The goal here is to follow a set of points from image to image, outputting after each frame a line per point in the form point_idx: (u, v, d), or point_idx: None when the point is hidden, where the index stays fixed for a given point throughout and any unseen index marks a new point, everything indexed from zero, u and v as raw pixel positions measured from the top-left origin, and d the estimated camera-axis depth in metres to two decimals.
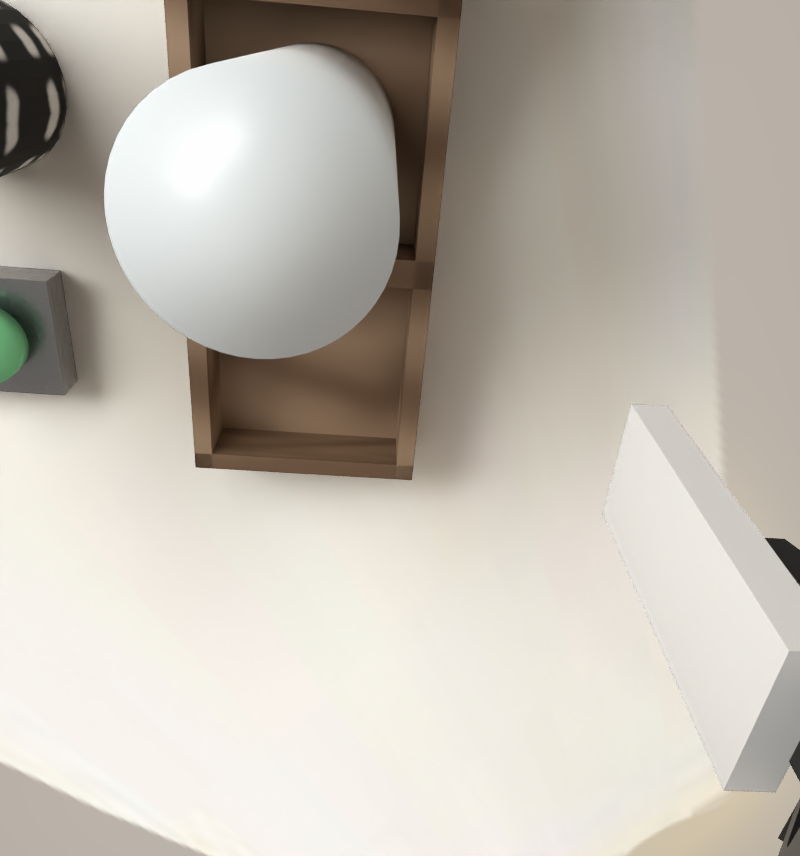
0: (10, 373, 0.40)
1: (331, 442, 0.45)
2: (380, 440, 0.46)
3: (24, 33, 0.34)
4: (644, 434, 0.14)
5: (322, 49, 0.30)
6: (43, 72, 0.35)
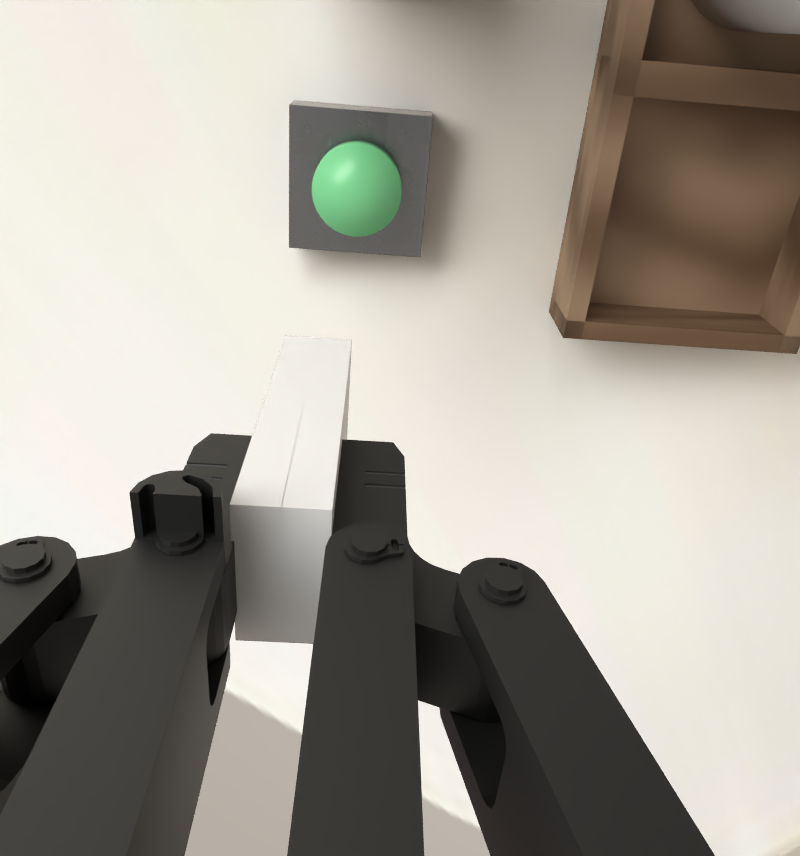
0: (385, 223, 0.36)
1: (696, 315, 0.41)
2: (745, 316, 0.42)
3: None
4: None
5: None
6: None
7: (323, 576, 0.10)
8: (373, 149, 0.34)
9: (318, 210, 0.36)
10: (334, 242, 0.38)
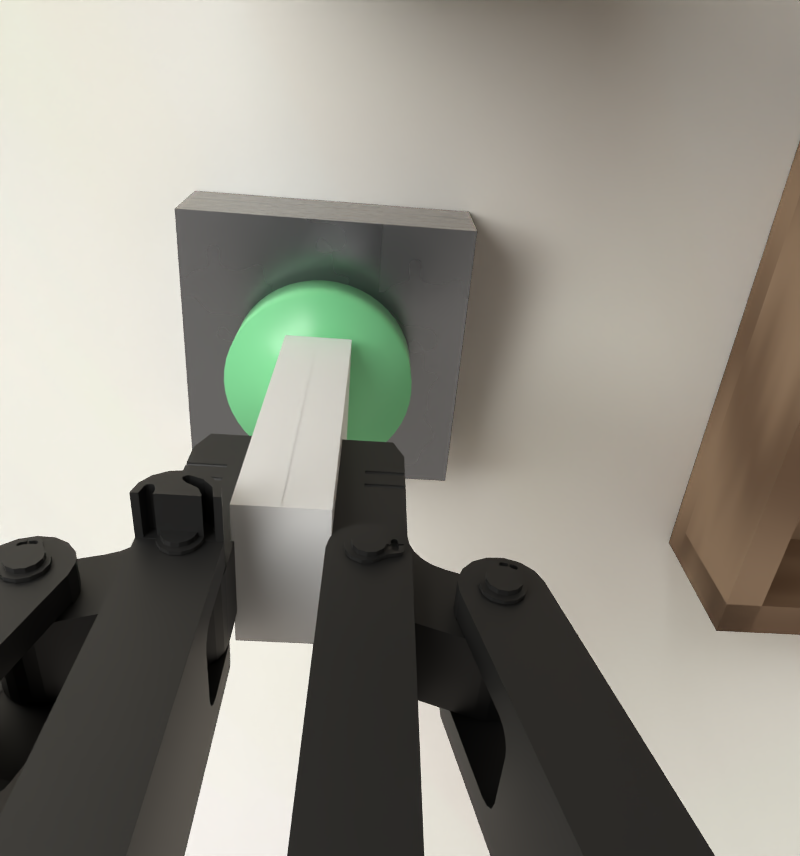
0: (377, 441, 0.18)
1: None
2: None
3: None
4: None
5: None
6: None
7: (323, 576, 0.10)
8: (352, 308, 0.16)
9: (240, 420, 0.17)
10: None
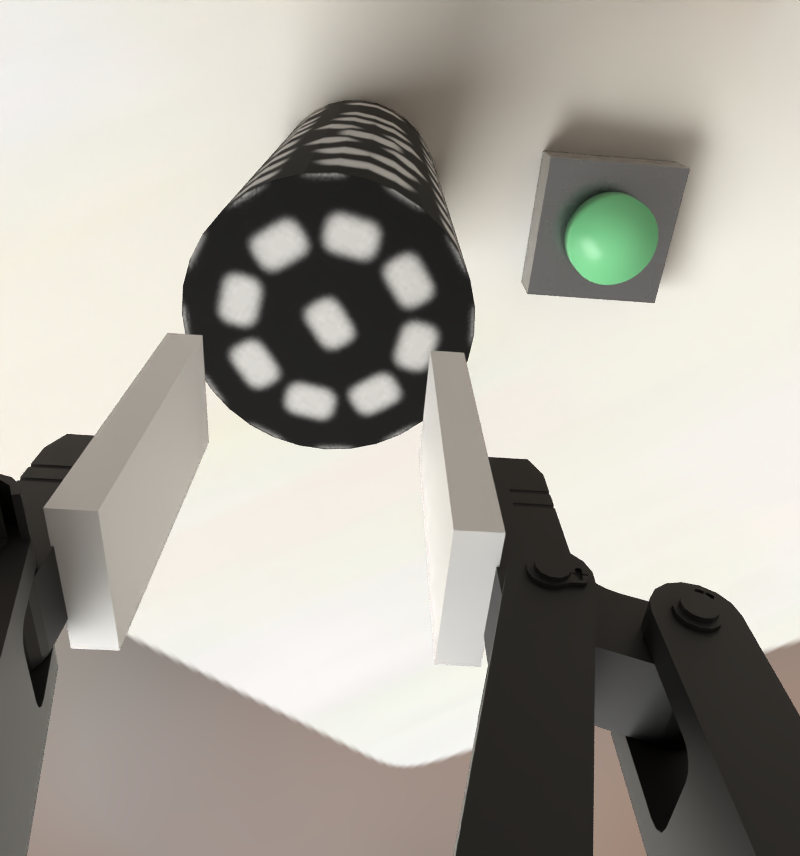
0: (648, 213, 0.35)
1: None
2: None
3: (305, 119, 0.35)
4: (431, 375, 0.15)
5: None
6: (338, 105, 0.34)
7: (504, 593, 0.09)
8: (577, 224, 0.36)
9: (625, 279, 0.37)
10: (657, 259, 0.38)
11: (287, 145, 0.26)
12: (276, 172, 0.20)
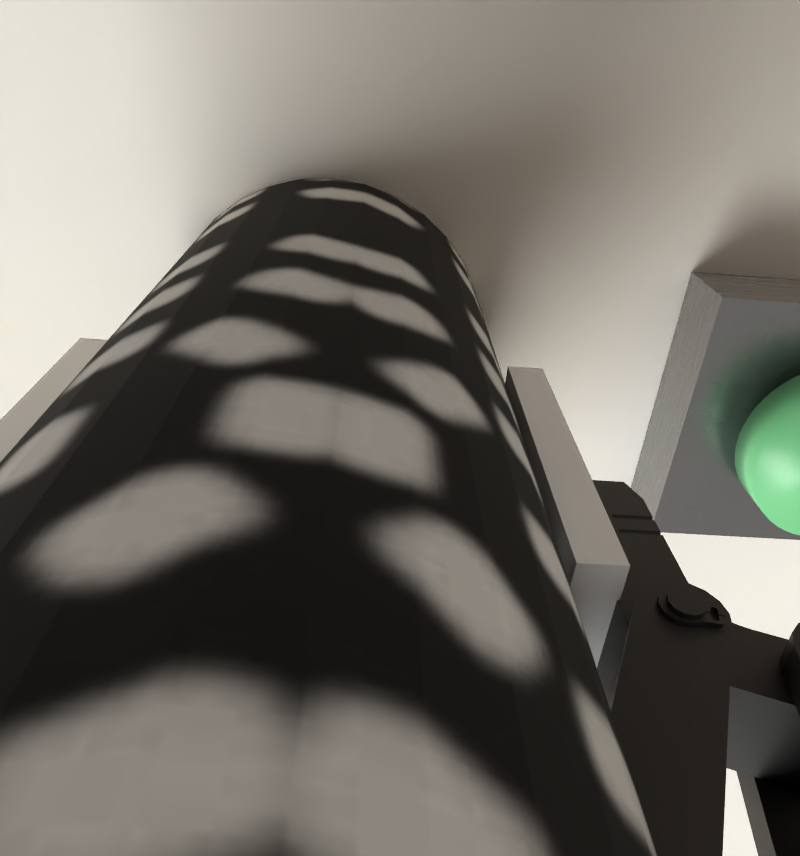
0: None
1: None
2: None
3: (215, 224, 0.17)
4: (513, 393, 0.15)
5: None
6: (281, 199, 0.16)
7: (632, 625, 0.09)
8: (776, 435, 0.17)
9: None
10: None
11: (43, 441, 0.08)
12: None
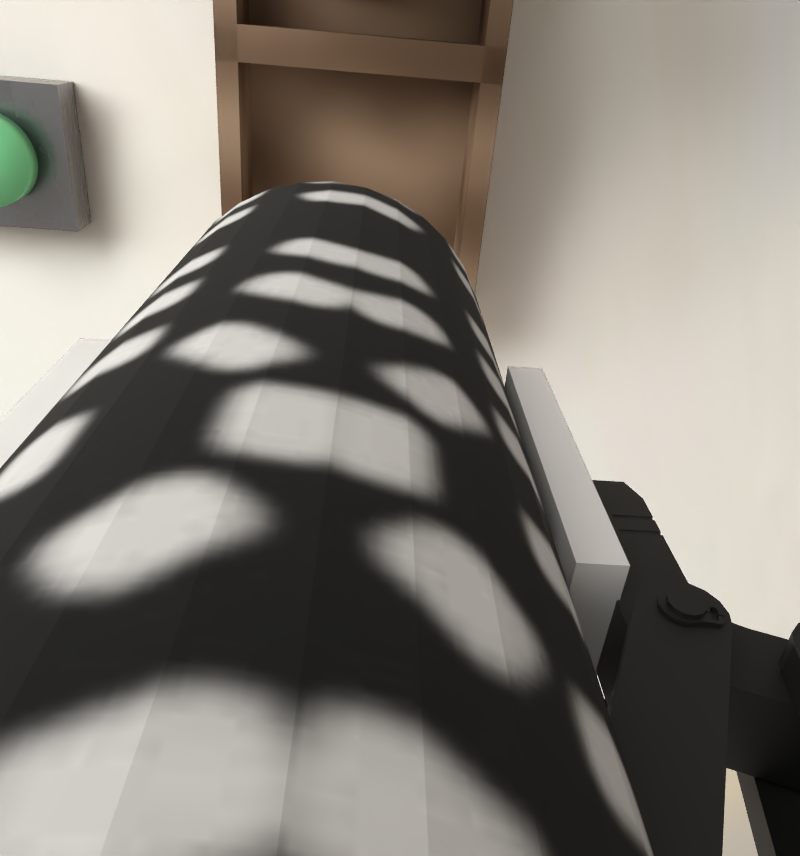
0: (17, 193, 0.35)
1: None
2: None
3: (215, 227, 0.17)
4: (513, 393, 0.15)
5: None
6: (282, 202, 0.16)
7: (632, 624, 0.09)
8: None
9: None
10: None
11: (44, 446, 0.08)
12: None
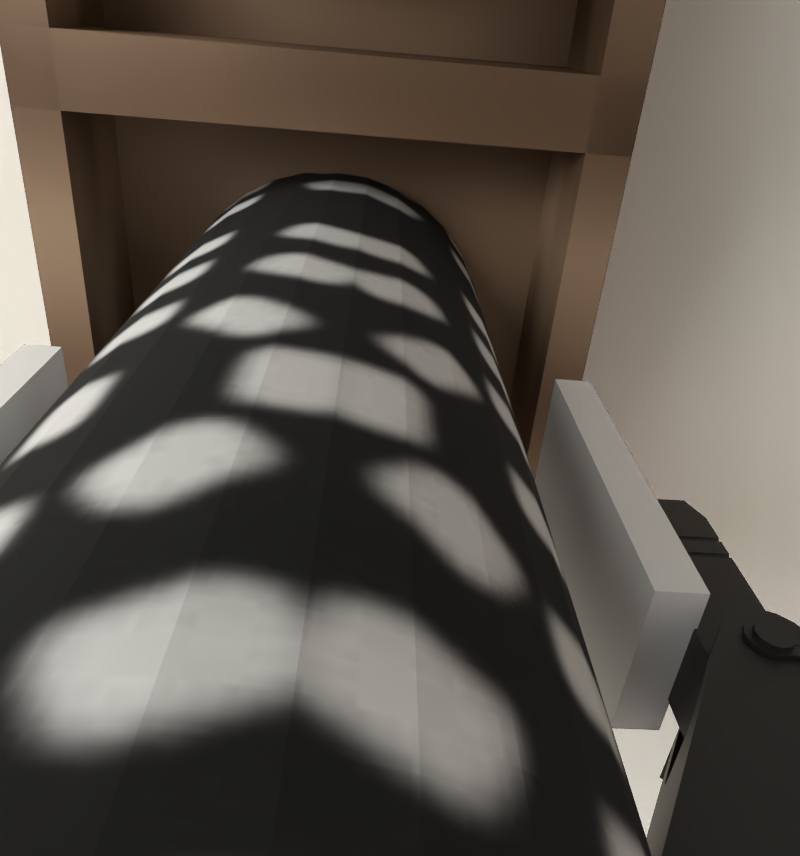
0: None
1: None
2: None
3: (224, 215, 0.17)
4: (563, 407, 0.14)
5: None
6: (287, 191, 0.17)
7: (715, 652, 0.09)
8: None
9: None
10: None
11: (77, 402, 0.08)
12: None
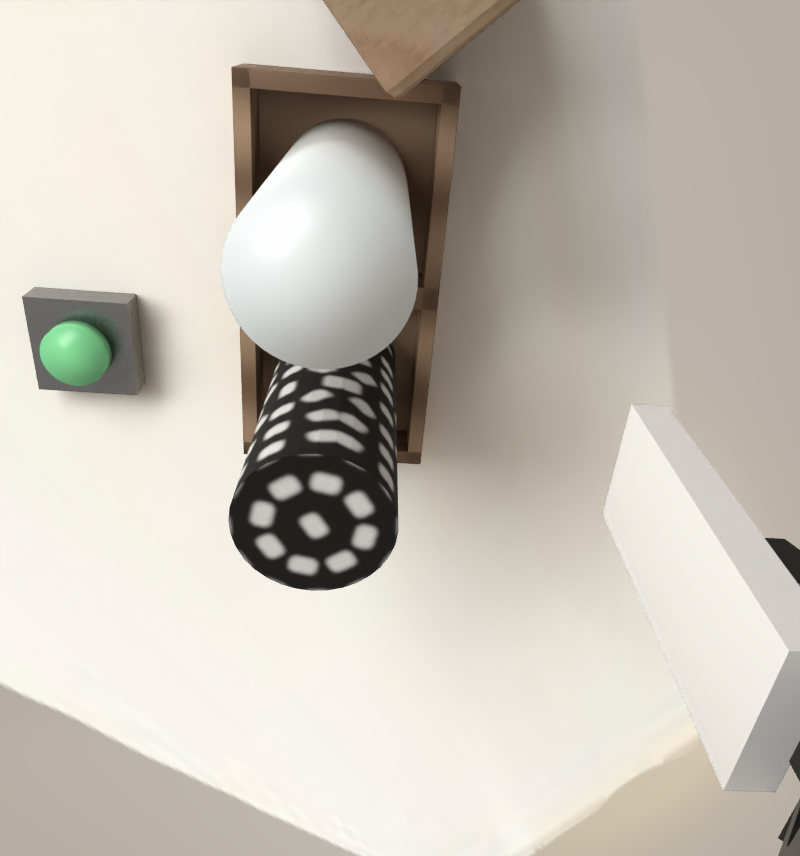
0: (97, 377, 0.50)
1: None
2: None
3: None
4: (644, 435, 0.14)
5: (354, 133, 0.40)
6: None
7: None
8: (79, 330, 0.49)
9: (47, 369, 0.50)
10: (71, 385, 0.52)
11: (289, 387, 0.41)
12: (283, 443, 0.35)
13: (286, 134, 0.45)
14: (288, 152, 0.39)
